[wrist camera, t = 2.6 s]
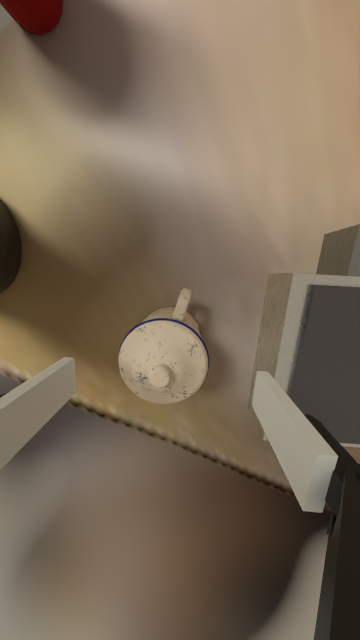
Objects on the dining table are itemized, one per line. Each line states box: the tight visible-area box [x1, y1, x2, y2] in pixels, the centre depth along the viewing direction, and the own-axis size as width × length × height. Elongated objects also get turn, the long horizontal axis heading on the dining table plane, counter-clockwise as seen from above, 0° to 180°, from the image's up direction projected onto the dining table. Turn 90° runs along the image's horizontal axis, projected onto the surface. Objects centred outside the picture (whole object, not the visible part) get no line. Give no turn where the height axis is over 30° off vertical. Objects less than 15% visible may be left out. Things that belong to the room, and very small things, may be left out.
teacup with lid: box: [118, 288, 209, 404], centre depth 22 cm, size 12×9×12 cm
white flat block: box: [248, 224, 360, 447], centre depth 24 cm, size 20×25×7 cm
